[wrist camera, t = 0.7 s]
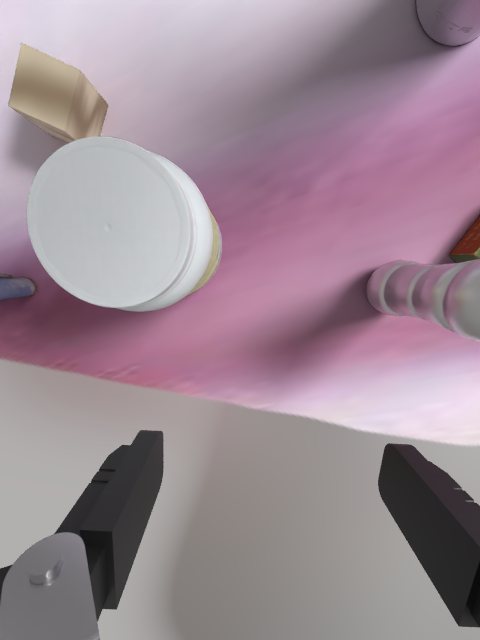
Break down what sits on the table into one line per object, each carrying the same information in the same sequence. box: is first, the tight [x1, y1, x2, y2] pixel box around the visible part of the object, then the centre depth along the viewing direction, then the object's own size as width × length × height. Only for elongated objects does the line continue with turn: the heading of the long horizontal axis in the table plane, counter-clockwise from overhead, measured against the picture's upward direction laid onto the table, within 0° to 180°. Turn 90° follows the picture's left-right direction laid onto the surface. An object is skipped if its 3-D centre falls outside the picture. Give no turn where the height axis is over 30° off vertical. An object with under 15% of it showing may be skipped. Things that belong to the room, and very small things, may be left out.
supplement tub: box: [26, 136, 222, 312], centre depth 25 cm, size 12×12×17 cm
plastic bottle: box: [366, 259, 480, 342], centre depth 24 cm, size 6×7×20 cm
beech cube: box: [8, 43, 108, 143], centre depth 27 cm, size 6×6×6 cm
